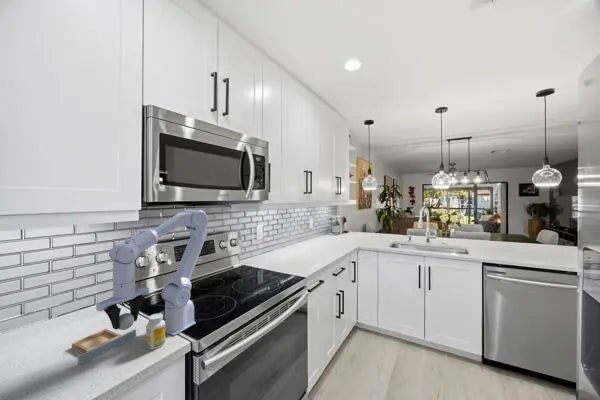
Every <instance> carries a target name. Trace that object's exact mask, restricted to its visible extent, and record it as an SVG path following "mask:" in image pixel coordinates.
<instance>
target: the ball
mask: <svg viewBox="0 0 600 400" xmlns="http://www.w3.org/2000/svg"><path fill="white" fill-rule="evenodd" d="M134 322H135V321H134V316H133V315H132V314H130V312H126V313H125V312H124V313H122V314H120V316H119V329H118V330H120V331H125V330H128V329H130V328H131V327H132V326H133V324H134Z"/></svg>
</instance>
